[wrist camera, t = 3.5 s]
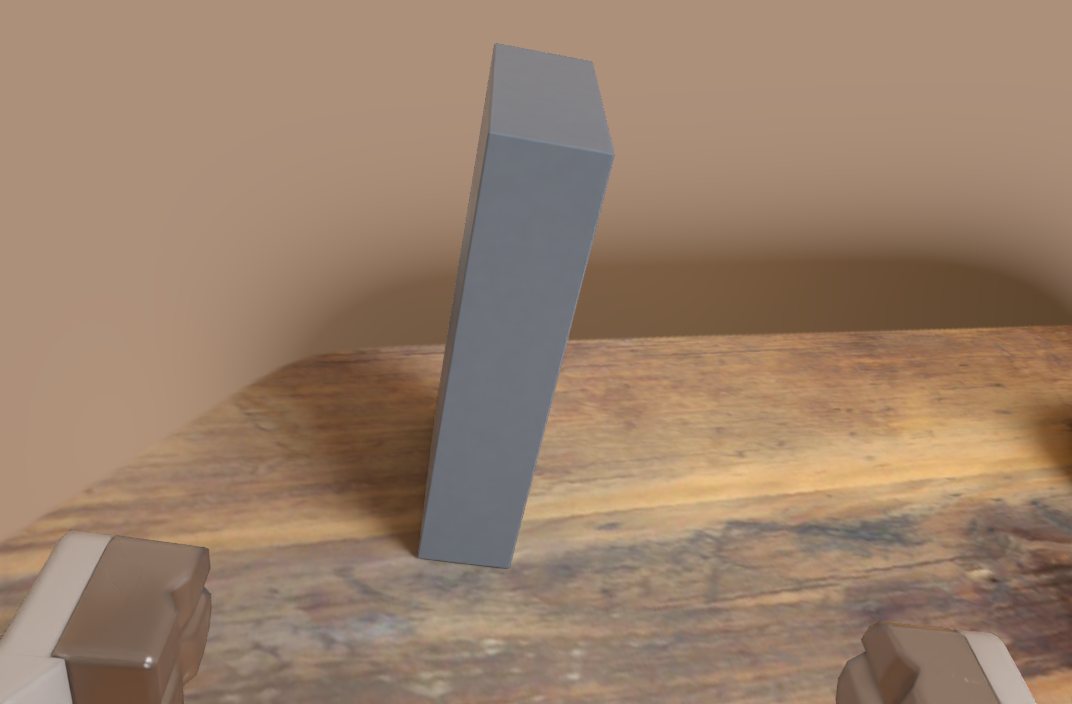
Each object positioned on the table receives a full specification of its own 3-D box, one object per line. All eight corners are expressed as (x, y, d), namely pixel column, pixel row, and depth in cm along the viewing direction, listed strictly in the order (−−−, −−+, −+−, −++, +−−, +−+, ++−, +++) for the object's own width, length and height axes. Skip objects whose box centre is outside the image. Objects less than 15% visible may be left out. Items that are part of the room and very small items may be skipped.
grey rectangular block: (417, 559, 23) (487, 130, 17) (434, 413, 28) (494, 40, 22) (509, 569, 24) (615, 153, 17) (510, 424, 29) (593, 59, 22)
